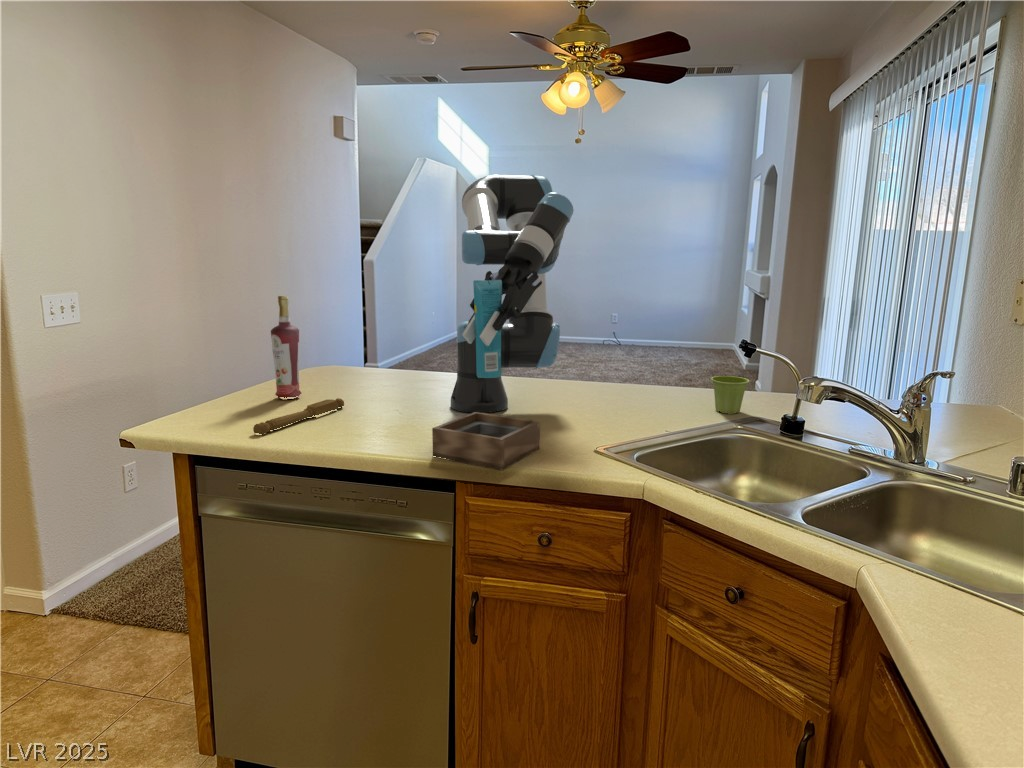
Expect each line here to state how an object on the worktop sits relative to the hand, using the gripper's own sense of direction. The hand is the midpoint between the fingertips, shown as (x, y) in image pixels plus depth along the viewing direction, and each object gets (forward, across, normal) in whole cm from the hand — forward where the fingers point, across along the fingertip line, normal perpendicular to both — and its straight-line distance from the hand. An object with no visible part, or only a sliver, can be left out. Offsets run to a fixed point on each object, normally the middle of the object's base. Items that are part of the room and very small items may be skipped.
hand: (475, 340), depth 132 cm
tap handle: (+21, +51, -13) cm, 57 cm away
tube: (+3, 0, -8) cm, 9 cm away
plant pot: (-34, -23, -69) cm, 80 cm away
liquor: (+13, +75, -21) cm, 79 cm away
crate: (+14, 0, -20) cm, 24 cm away
